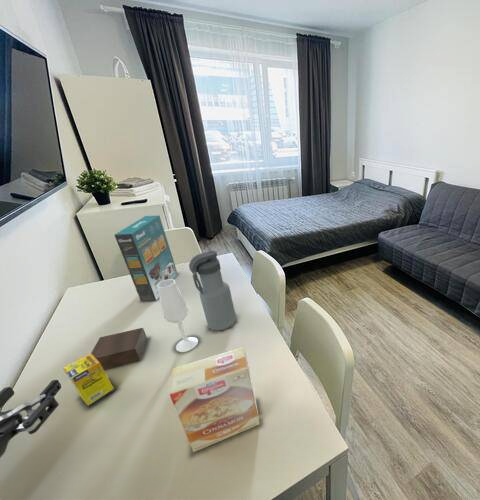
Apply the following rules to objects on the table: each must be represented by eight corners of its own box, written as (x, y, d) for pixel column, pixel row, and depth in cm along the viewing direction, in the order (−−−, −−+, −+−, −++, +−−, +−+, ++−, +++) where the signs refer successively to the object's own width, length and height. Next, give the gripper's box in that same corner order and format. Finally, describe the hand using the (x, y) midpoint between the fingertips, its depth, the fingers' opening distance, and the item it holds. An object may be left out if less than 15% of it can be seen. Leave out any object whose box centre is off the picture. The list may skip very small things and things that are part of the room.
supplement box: (115, 390, 75) (100, 361, 70) (89, 408, 70) (70, 378, 65) (106, 380, 77) (90, 352, 73) (80, 397, 73) (62, 368, 68)
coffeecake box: (192, 453, 60) (167, 395, 51) (193, 423, 66) (171, 367, 57) (260, 425, 65) (248, 368, 57) (256, 400, 71) (244, 344, 63)
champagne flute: (191, 334, 94) (172, 275, 83) (202, 342, 90) (183, 281, 80) (171, 346, 89) (148, 285, 79) (182, 355, 85) (159, 292, 75)
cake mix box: (164, 274, 132) (145, 216, 119) (177, 273, 132) (159, 215, 119) (141, 301, 112) (114, 234, 99) (156, 300, 113) (131, 233, 100)
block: (93, 372, 80) (86, 360, 78) (105, 348, 89) (99, 337, 86) (140, 360, 84) (134, 348, 82) (147, 338, 92) (143, 327, 90)
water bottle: (212, 336, 93) (192, 265, 81) (203, 322, 99) (183, 254, 87) (240, 323, 99) (226, 254, 87) (230, 310, 105) (215, 245, 93)
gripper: (-9, 451, 41) (64, 367, 56) (-125, 473, 39) (-17, 379, 54) (16, 478, 45) (80, 391, 59) (-89, 499, 42) (4, 404, 57)
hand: (34, 386), depth 56 cm, fingers open, 8 cm apart
